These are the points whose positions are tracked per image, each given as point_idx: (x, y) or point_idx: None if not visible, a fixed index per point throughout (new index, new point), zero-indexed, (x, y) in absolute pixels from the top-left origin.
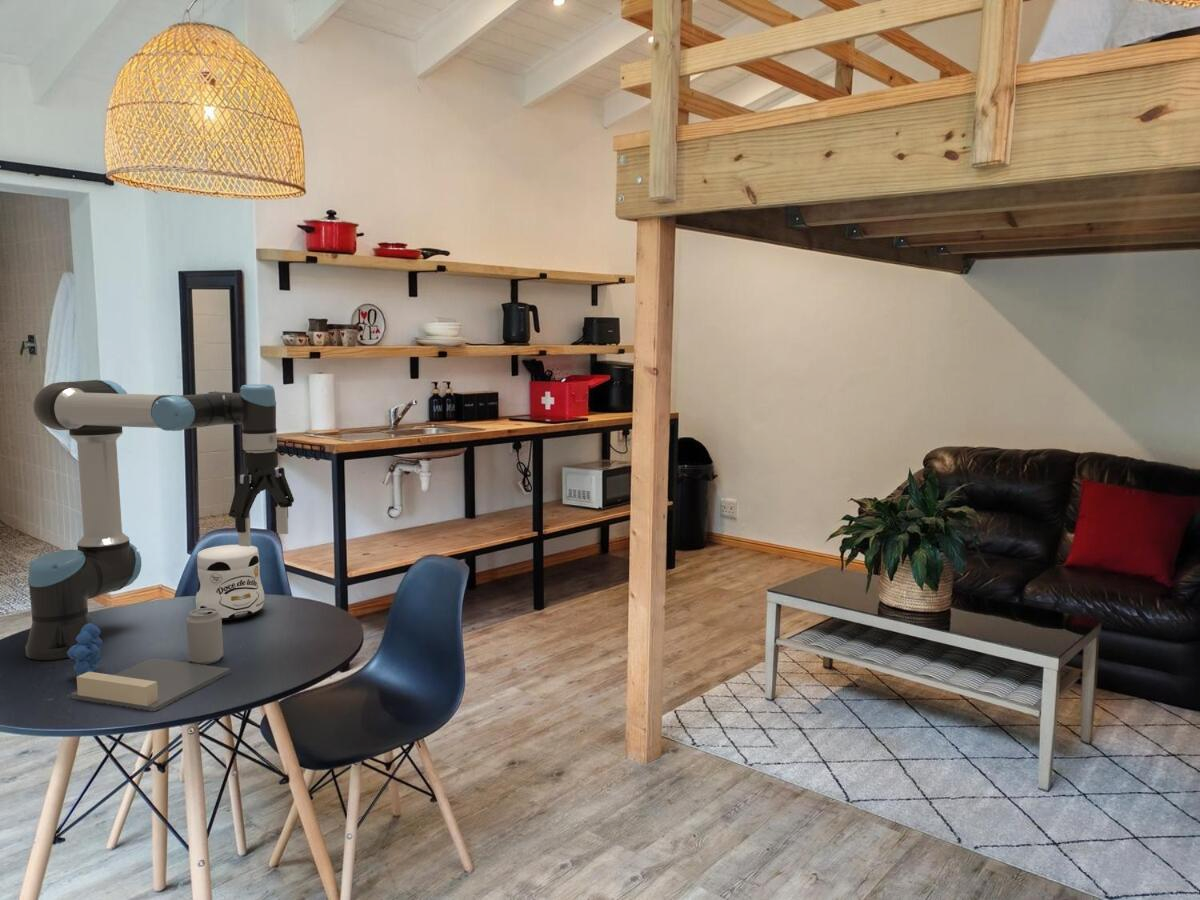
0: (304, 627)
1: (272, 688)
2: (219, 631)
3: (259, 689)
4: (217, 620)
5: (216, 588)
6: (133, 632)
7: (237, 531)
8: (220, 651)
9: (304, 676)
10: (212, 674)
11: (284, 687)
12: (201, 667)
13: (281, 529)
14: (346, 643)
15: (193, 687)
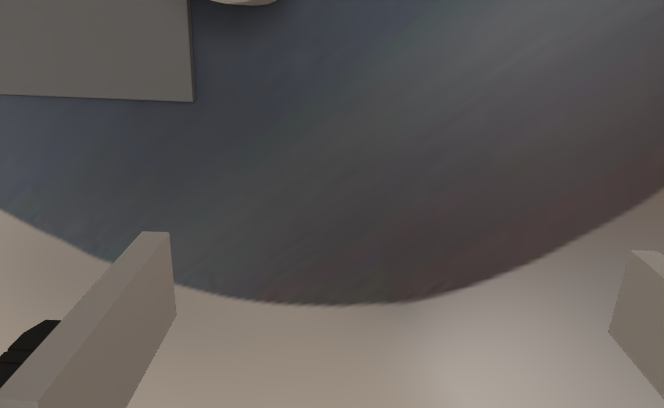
0: (606, 69)
1: None
2: (248, 3)
3: None
4: (230, 3)
5: None
6: None
7: (36, 326)
8: (260, 4)
9: (244, 286)
10: (139, 82)
11: None
12: (168, 10)
13: (639, 313)
14: (481, 264)
15: (50, 95)
